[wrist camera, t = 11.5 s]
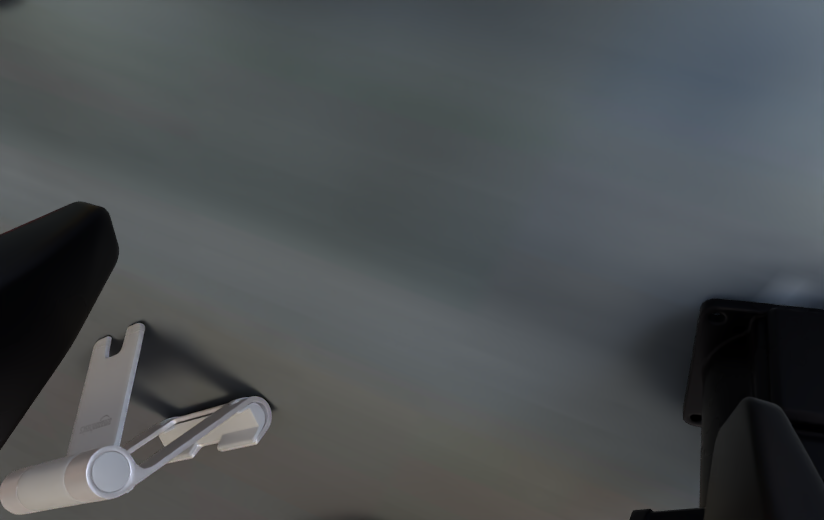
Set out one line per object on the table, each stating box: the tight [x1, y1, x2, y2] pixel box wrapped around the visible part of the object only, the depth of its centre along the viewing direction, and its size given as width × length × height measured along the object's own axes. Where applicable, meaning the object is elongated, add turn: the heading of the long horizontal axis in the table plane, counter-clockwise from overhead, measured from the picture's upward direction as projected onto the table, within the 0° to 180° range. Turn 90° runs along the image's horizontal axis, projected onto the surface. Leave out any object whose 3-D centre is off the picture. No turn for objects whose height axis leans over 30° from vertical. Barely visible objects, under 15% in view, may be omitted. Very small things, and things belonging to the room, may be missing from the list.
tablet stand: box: [0, 323, 272, 514], centre depth 35 cm, size 9×8×8 cm
